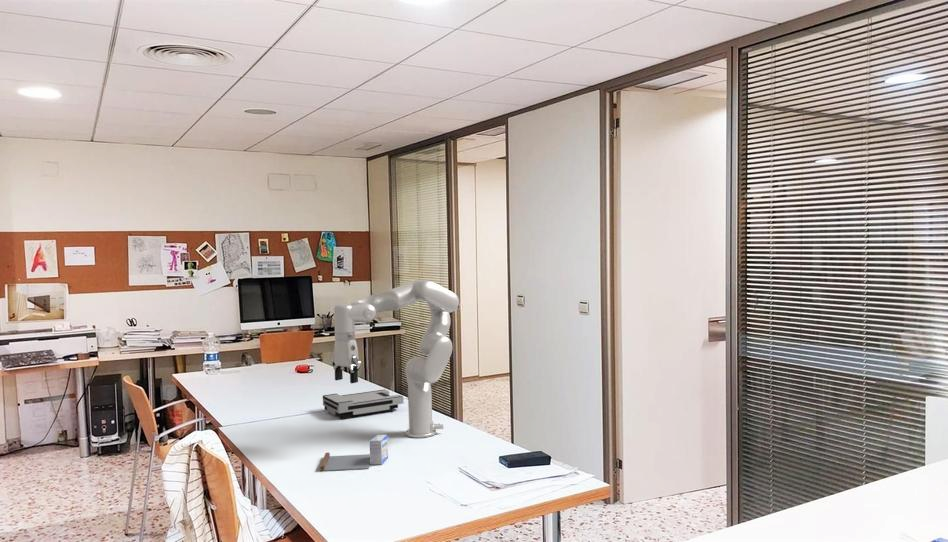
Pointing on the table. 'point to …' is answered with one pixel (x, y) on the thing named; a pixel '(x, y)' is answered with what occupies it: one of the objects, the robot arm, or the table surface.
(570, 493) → the table surface
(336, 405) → the game console
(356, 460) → the slate mat
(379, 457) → the medicine box
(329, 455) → the walnut stop strip
